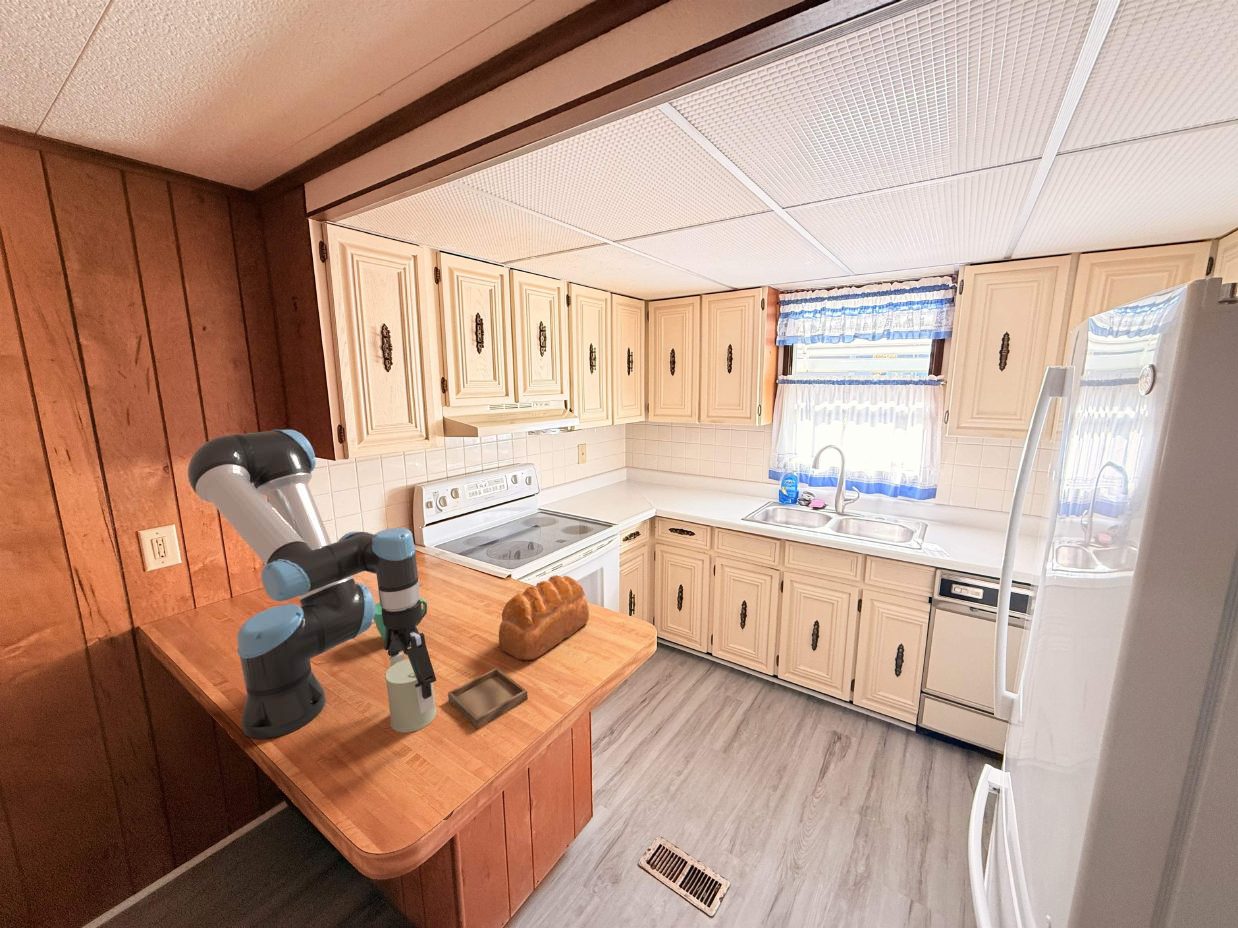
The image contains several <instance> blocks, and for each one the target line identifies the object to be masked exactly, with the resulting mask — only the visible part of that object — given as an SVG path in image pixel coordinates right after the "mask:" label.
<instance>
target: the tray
mask: <svg viewBox="0 0 1238 928" xmlns="http://www.w3.org/2000/svg"><path fill="white" fill-rule="evenodd" d="M447 697H448V698H447V700H448V702H449V703H450V704H452V706H453V707H454V708H455V709H456V710H457V711H458V712H460V714H462V716H463V717H465V718H466V720H468V722H470V723H471V724H472V725H473V726H474V727H475V728H476V729H478V730H479V728H482V727H484V726H485V725H486V724H489V723H490V722H492V721H493V720H495V719H496V718H498V717H500V716H502V715H504V714H505V713H507V712H508V711H510V710H511V709H513V708H515V707H518V705H520V704H522V703H523V702H525V701H527V700H528V690H527V689H526V688H524V687H523V686H522V685H520V684H519V683H518V682H516V681H515V680H514V679H512V677H511V676H508V674H506V673H505V672H503V671H502V670H501V669H500V668H498V667H495V668H493V669H491V670H489V671H488V672H486V673H484V674H481V675H480V676H478V677H475V678H474V679H472V680H470V681H468V682H466V683H464V684H463V685H460V686H458V687H456V688H455V689H453V690H451V691H449V692H447Z"/></svg>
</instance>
